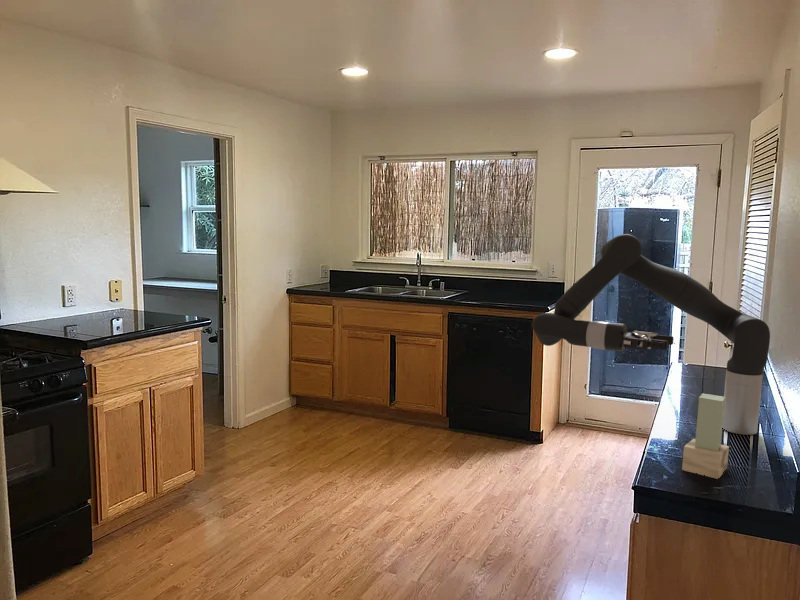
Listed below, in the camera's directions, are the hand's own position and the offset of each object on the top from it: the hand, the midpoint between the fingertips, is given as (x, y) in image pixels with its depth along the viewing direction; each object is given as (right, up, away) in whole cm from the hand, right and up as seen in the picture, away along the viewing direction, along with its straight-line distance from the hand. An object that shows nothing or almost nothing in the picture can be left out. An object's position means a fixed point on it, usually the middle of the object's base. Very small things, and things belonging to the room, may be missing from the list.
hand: (670, 343), depth 167 cm
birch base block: (+3, -30, -11) cm, 32 cm away
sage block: (+4, -24, -12) cm, 27 cm away
